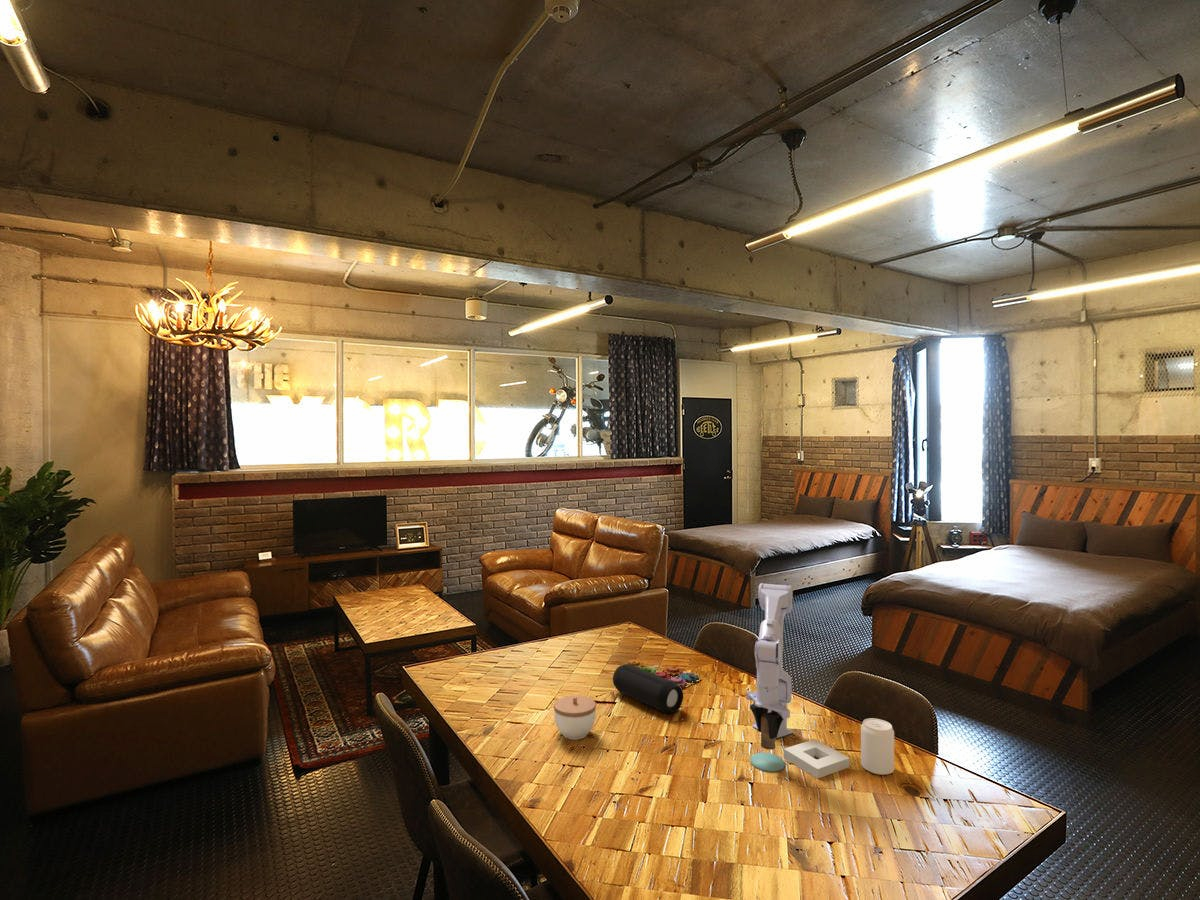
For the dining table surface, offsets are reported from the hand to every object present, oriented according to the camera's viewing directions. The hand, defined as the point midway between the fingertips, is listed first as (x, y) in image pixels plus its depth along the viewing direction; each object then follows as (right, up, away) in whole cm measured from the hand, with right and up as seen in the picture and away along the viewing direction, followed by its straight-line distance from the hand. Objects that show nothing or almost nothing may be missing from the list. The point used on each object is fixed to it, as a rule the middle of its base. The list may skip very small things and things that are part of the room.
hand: (767, 734), depth 167 cm
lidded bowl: (-53, -8, +17) cm, 56 cm away
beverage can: (+29, -8, -3) cm, 30 cm away
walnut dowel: (0, -3, 0) cm, 3 cm away
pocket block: (+13, -8, 0) cm, 16 cm away
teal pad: (0, -8, 0) cm, 8 cm away
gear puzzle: (-24, -8, +65) cm, 69 cm away
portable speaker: (-30, -8, +40) cm, 50 cm away
